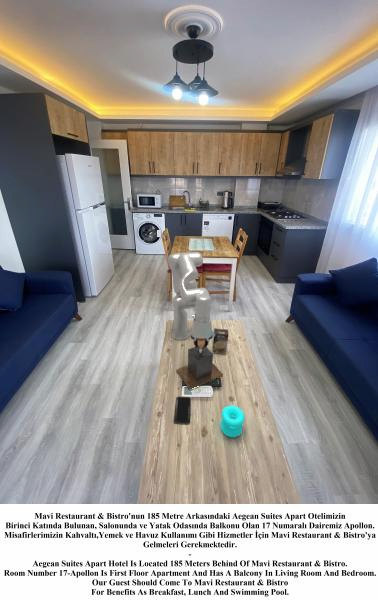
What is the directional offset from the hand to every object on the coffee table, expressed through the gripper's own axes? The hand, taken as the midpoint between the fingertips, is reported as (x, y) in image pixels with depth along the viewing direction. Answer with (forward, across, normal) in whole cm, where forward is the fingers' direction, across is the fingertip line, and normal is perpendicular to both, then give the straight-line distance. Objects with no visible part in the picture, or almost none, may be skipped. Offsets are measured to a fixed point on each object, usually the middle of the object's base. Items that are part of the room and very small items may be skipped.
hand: (200, 345), depth 132 cm
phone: (+21, -9, -25) cm, 34 cm away
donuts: (+21, +14, -34) cm, 42 cm away
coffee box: (+21, +14, +21) cm, 32 cm away
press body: (+21, 0, 0) cm, 21 cm away
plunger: (+16, 0, 0) cm, 16 cm away
